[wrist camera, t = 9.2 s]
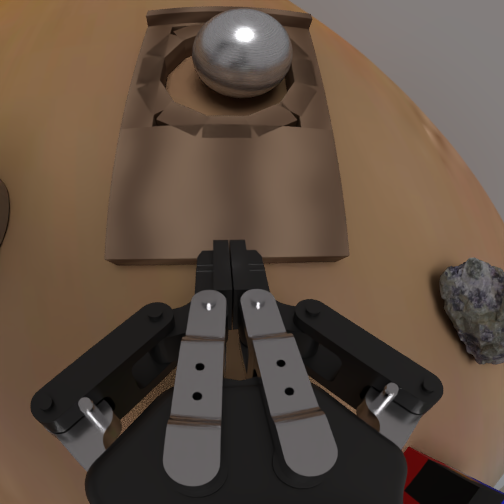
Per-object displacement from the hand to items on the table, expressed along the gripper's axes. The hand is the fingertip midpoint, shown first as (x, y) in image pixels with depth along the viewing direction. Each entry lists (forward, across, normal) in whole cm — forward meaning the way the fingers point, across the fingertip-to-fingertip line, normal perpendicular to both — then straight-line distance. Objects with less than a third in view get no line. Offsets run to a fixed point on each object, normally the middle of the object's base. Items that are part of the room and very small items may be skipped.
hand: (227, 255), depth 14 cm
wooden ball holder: (+14, 0, -4) cm, 14 cm away
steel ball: (+14, -1, -10) cm, 17 cm away
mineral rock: (+1, -24, +8) cm, 25 cm away
